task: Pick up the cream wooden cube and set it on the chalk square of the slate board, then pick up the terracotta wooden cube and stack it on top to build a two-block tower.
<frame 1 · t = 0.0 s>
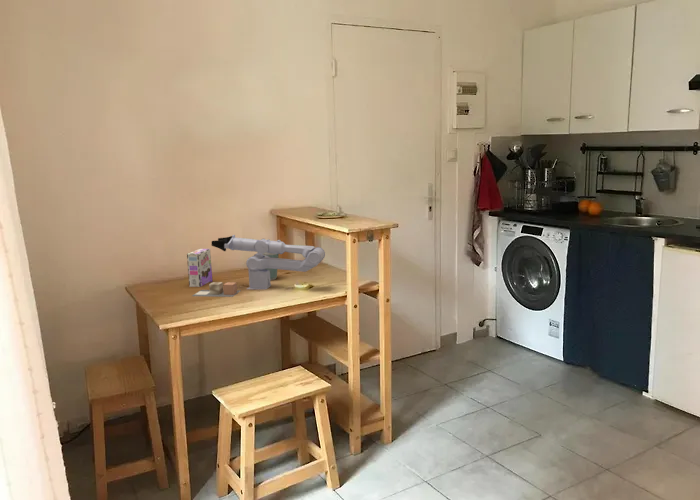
hand: (215, 241, 270), 22 cm above the table, tool horizontal, fingers open, 7 cm apart
block terracotta: (230, 293, 261), point 1 cm above the table, touching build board
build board: (216, 294, 262), on the table
disposable coffee cup: (269, 279, 290), on the table
block cream: (216, 293, 262), point 1 cm above the table, touching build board
candy box: (201, 284, 282), on the table
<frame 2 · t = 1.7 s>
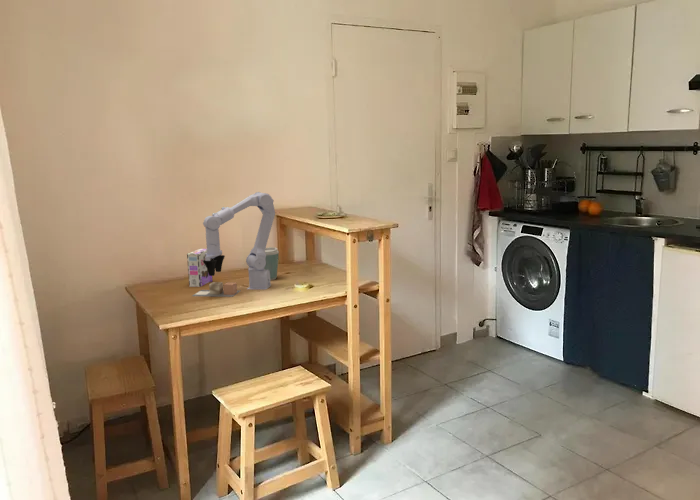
hand: (215, 273, 260), 10 cm above the table, tool pointing down, fingers open, 7 cm apart
nothing on the table moved.
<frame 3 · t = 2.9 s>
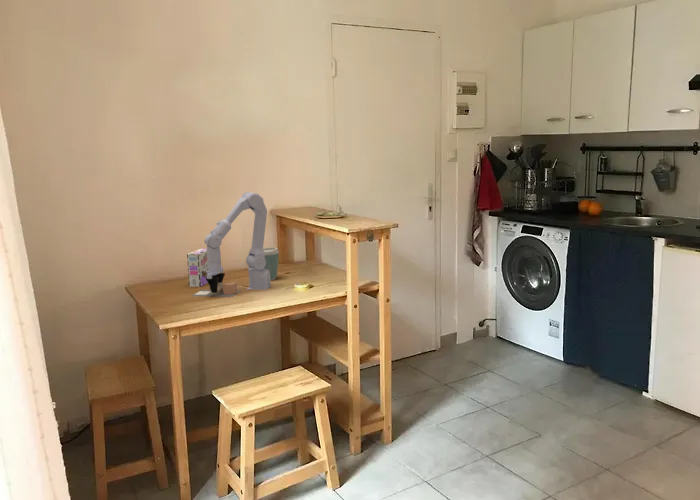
hand: (216, 291, 262), 2 cm above the table, tool pointing down, fingers closed on block cream, 4 cm apart
block cream: (216, 293, 262), point 1 cm above the table, touching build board, gripper
everything else where it was.
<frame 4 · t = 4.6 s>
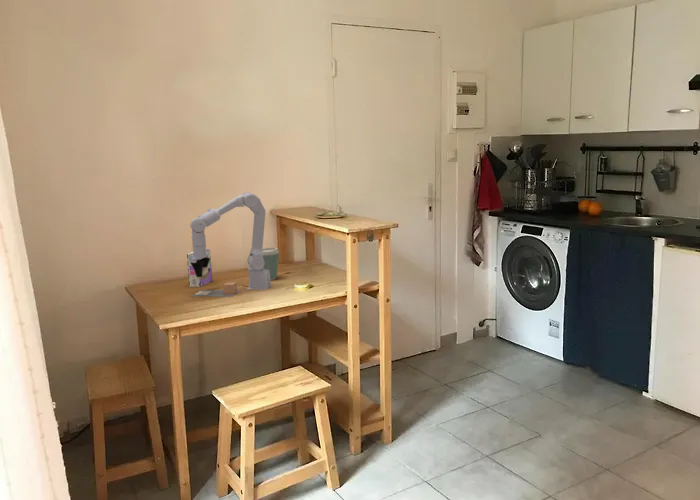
hand: (201, 275, 262), 9 cm above the table, tool pointing down, fingers closed on block cream, 4 cm apart
block cream: (201, 277, 262), point 8 cm above the table, touching gripper
everything else where it was.
when the fingers open (3 cm above the table, at t = 6.1 s): block cream stays where it is, resting on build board.
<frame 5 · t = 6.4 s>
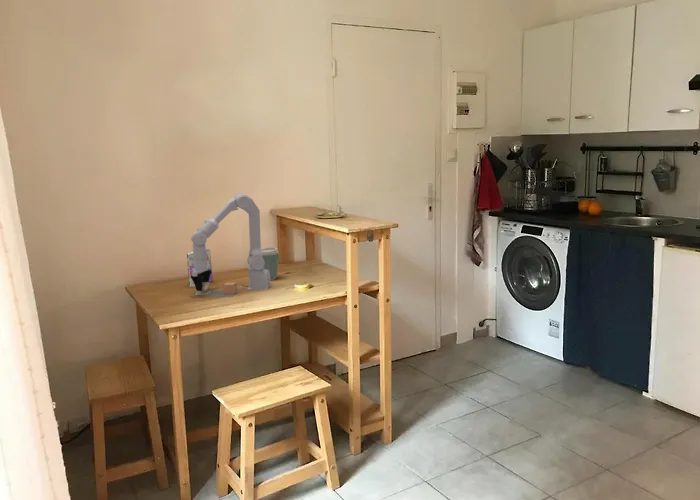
hand: (202, 288, 263), 3 cm above the table, tool pointing down, fingers open, 6 cm apart
block cream: (203, 292, 263), point 1 cm above the table, touching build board
everything else where it was.
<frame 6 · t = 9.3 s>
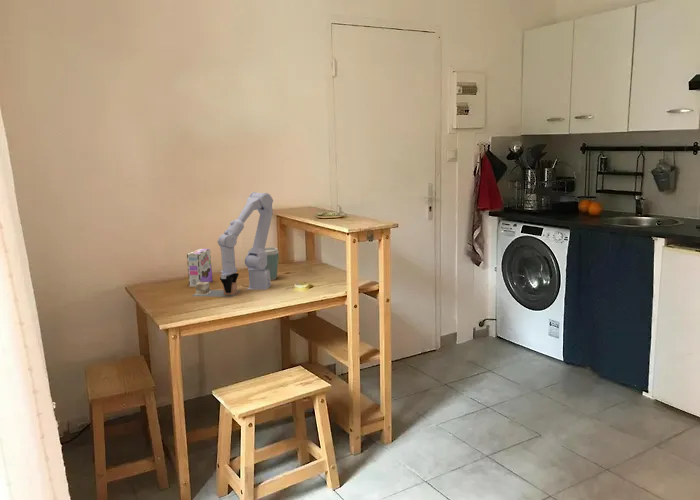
hand: (230, 291, 261), 2 cm above the table, tool pointing down, fingers closed on block terracotta, 4 cm apart
block terracotta: (230, 293, 261), point 1 cm above the table, touching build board, gripper
everything else where it was.
when the fingers open (7 cm above the table, at t = 12.1 s): block terracotta stays where it is, resting on block cream.
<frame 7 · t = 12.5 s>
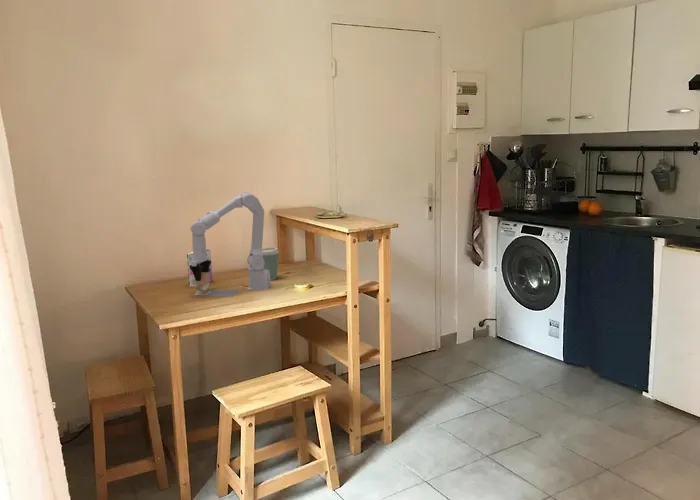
hand: (201, 278, 262), 7 cm above the table, tool pointing down, fingers open, 7 cm apart
block terracotta: (202, 283, 262), point 5 cm above the table, touching block cream
block cream: (203, 292, 263), point 1 cm above the table, touching block terracotta, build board
everything else where it was.
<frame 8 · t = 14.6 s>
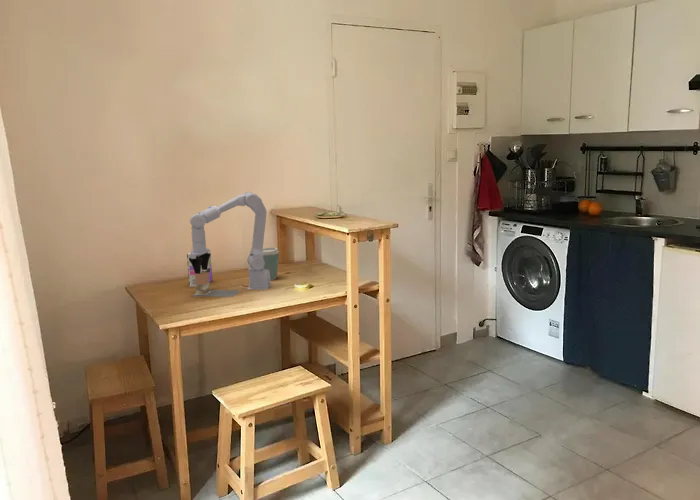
hand: (201, 271, 261), 10 cm above the table, tool pointing down, fingers open, 7 cm apart
nothing on the table moved.
at the end: block cream 0.1 cm from the target spot on the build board, point 0.6 cm above the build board's base; block terracotta 0.2 cm off-centre on the block cream, point 4.5 cm above the block cream's base; block terracotta tilted 0° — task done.
